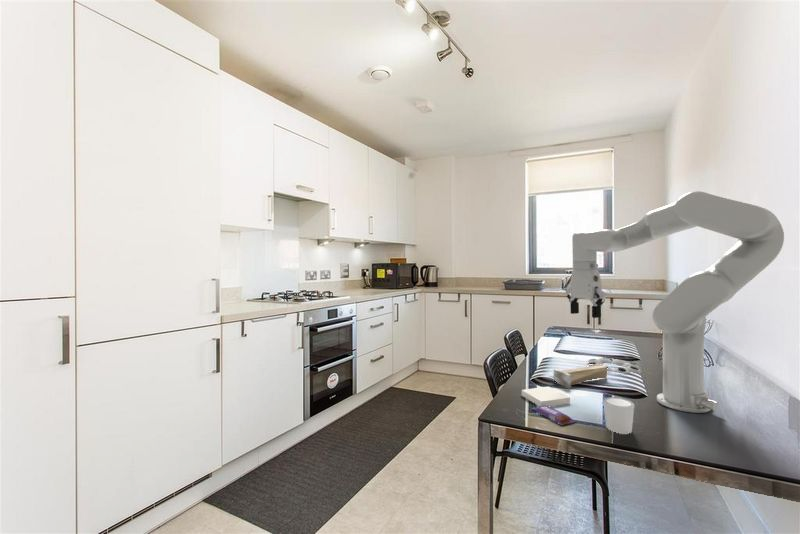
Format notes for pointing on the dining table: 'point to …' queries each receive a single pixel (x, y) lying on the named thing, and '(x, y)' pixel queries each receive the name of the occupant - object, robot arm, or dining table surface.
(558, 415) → the snack package
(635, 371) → the paint palette
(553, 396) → the tile
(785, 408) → the dining table surface
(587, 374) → the tan wooden plank
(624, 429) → the white cylinder
